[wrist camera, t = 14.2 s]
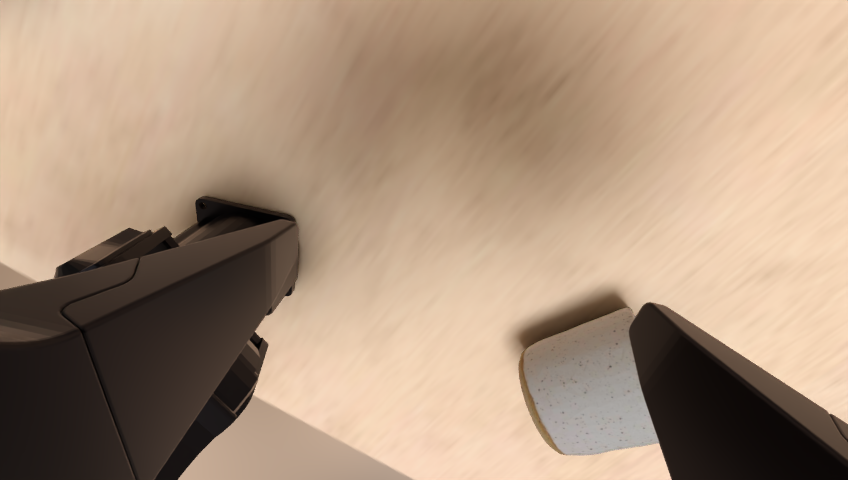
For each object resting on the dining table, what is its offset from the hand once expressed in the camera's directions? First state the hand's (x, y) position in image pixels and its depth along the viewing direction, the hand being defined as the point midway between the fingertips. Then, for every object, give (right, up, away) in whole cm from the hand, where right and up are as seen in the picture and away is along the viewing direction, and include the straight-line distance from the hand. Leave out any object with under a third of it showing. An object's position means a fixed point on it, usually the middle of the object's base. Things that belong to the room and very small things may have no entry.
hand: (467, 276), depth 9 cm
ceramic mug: (+11, -7, +18) cm, 23 cm away
